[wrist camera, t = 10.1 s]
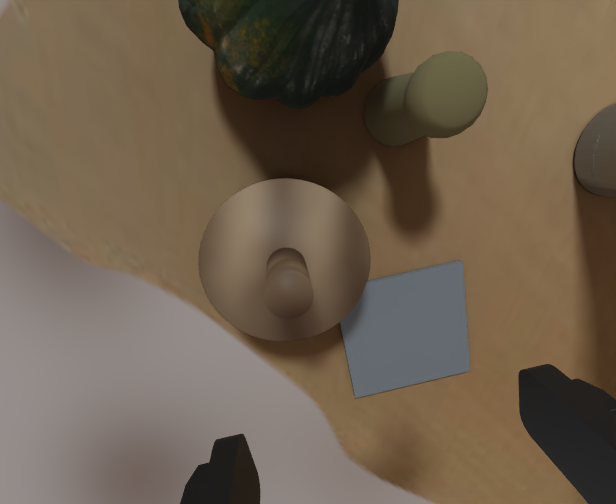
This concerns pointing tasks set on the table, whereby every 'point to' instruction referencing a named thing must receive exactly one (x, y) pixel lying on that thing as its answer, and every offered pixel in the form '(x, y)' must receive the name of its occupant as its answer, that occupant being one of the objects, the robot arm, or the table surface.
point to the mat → (407, 330)
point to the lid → (284, 259)
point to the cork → (428, 100)
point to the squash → (292, 43)
